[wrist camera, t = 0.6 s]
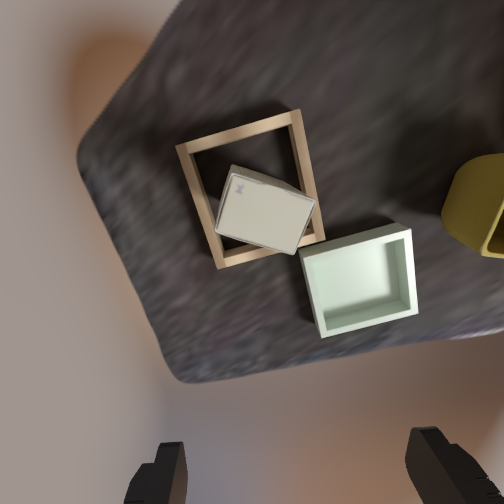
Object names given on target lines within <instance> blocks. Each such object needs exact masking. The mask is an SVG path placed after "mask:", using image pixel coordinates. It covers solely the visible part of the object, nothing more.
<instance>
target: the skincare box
mask: <svg viewBox="0 0 504 504" xmlns="http://www.w3.org/2000/svg"><path fill="white" fill-rule="evenodd" d="M315 206H316V201H315V200H314V199H312V198H311V197H309V196H307V195H306V194H304V193H302V192H301V191H299V190H297V189H296V188H294V187H292V186H290V185H289V184H287V183H285V182H284V181H281V180H279V179H276V178H273V177H271V176H268V175H265V174H262V173H259V172H256V171H253V170H250V169H247V168H243V167H240V166H237V165H233V164H232V165H231V167H230V170H229V173H228V176H227V179H226V183H225V186H224V189H223V193H222V197H221V201H220V206H219V210H218V215H217V219H216V225H215V232H217V233H219V234H222V235H225V236H228V237H230V238H233V239H236V240H239V241H243V242H246V243H250V244H253V245H257V246H260V247H264V248H268V249H271V250H275V251H279V252H283V253H287V254H291V255H294V254H295V252H296V250H297V247H298V245H299V243H300V241H301V239H302V236H303V234H304V232H305V230H306V227H307V225H308V223H309V221H310V218H311V216H312V213H313V211H314V208H315Z"/></svg>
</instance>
